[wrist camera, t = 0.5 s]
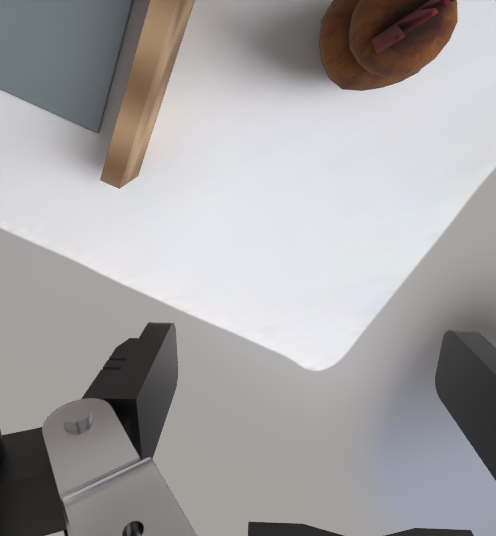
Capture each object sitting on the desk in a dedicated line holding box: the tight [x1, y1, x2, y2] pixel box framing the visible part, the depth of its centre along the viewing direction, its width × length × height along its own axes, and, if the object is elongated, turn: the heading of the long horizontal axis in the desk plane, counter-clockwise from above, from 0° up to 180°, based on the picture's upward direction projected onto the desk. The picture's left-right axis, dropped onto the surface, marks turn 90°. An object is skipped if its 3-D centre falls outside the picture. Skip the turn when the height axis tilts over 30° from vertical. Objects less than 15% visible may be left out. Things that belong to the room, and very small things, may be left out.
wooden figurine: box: [319, 0, 457, 91], centre depth 21 cm, size 7×6×15 cm
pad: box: [0, 0, 133, 133], centre depth 28 cm, size 10×10×1 cm
